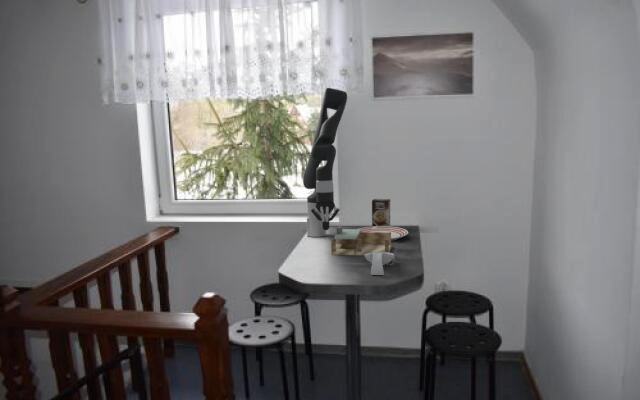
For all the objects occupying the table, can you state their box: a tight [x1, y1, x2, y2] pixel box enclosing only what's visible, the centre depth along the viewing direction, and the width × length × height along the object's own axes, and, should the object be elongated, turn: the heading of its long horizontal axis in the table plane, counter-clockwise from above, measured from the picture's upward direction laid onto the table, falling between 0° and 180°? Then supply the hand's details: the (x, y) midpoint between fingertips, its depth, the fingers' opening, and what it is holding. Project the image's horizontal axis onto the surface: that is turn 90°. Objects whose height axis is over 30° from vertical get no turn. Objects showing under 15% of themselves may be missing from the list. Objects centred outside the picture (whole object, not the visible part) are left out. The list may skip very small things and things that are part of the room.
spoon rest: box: [363, 252, 395, 276], centre depth 190 cm, size 24×12×7 cm, turn 172°
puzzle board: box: [330, 232, 392, 256], centre depth 215 cm, size 24×16×7 cm
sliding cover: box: [334, 225, 361, 240], centre depth 216 cm, size 9×16×4 cm, turn 168°
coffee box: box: [371, 198, 391, 227], centre depth 262 cm, size 9×6×16 cm
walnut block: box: [342, 239, 355, 249], centre depth 216 cm, size 5×5×6 cm
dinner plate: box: [358, 225, 409, 242], centre depth 243 cm, size 27×27×3 cm
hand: (326, 229), depth 218 cm, fingers closed
